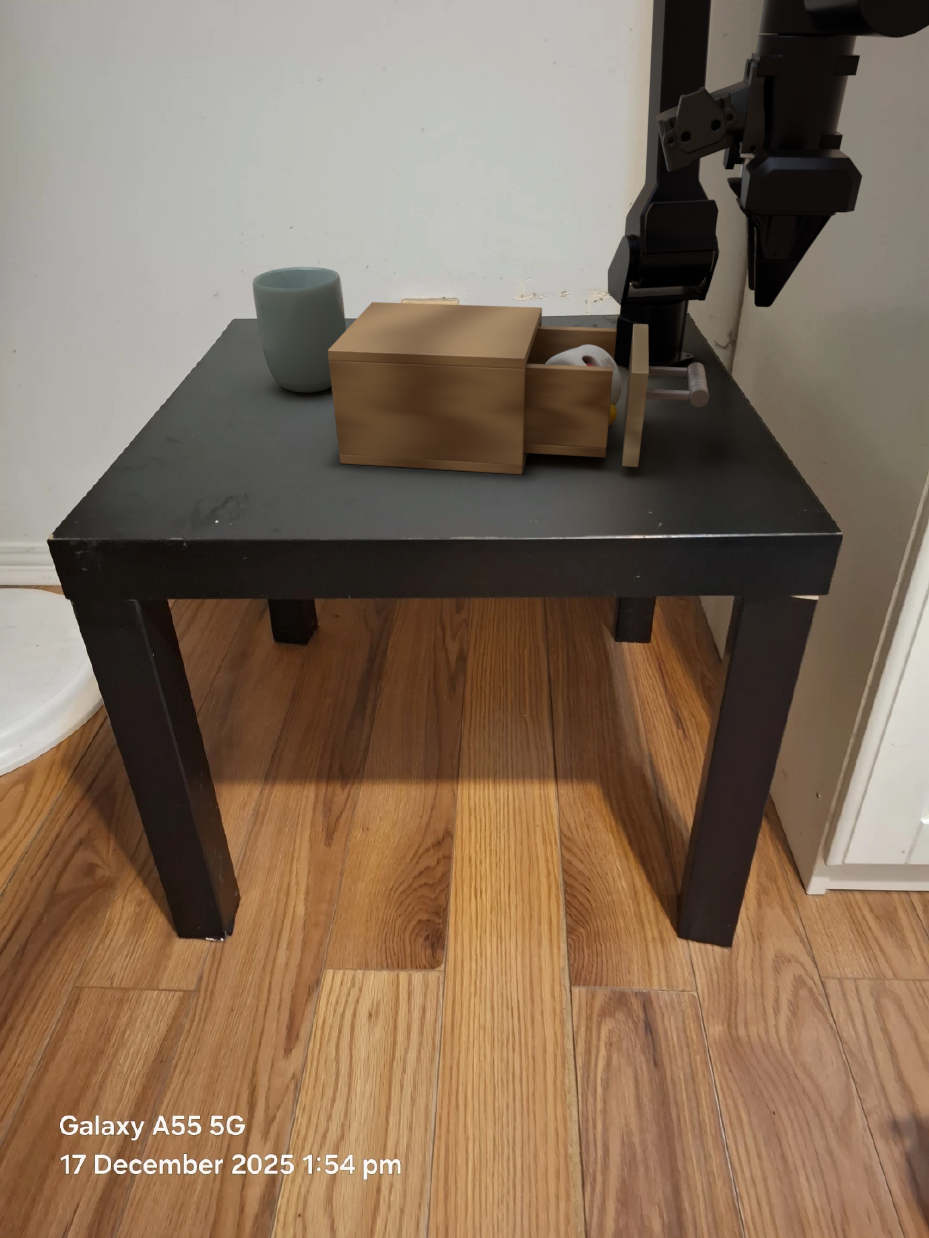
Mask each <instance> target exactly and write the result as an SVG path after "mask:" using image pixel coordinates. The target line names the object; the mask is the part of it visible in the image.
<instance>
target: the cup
mask: <svg viewBox="0 0 929 1238" xmlns="http://www.w3.org/2000/svg"><path fill="white" fill-rule="evenodd" d="M341 279H342V278H341V276H340V273H338V271H336V270H333V269H329V268H326V267H325V268H324V267H318V266H317V267H315V266H293V267H292V266H291V267H282V268H277V269H272V270H268V271H265V272H263V273H260V274H258V275H256V276H255V277H254V278H253V279H252V284H251V286H252V287H251V288H252V295H253V302H254V307H255V308H254V309H255V315H256V320H257V325H258V326H257V327H258V332H259V337H260V342H261V346H262V351H263V356H264V359H265V361H266V365H267V368H268V370H269V373H270V374H271V376H272V378H273V379H274V380H275V382H276V383H277V384H278V385H279V386H281V387H282V388H284V389H285V390H287V391H291V392H296V393H302V394H309V393H310V394H312V393H318V392H322V391H325V390H328V389H329V388H332V385H331V376H330V367H329V357H328V350H329V348H330V347H331V346H332V345H333V344H334V343H335V342H336V341H337V340H338V339H339V338H340V336H341V335H342V334H343V333H344V332H345V331H346V330H347V327H346V326H347V325H346V314H345V303H344V294H343V284H342V280H341Z"/></svg>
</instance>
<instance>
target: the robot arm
mask: <svg viewBox="0 0 929 1238" xmlns="http://www.w3.org/2000/svg"><path fill="white" fill-rule="evenodd" d="M652 1H653V2H652V21H651V22H652V23H651V45H650V66H649V67H650V69H649V89H648V91H649V92H648V110H647V111H648V112H647V133H646V157H645V177H644V185H643V186H642V188H641V189H640V192H639V193H638V195H637V197H636V199H635V200H634V202H633V204H632V205H631V207H630V209H629V211H628V213H626V216H625V225H624V235H623V236H622V237H621V239H620V242H619V243H618V246H617V248H616V250H615V253H614V255H613V257H612V260H611V261H610V264H609V266H608V269H607V293H608V295H609V296H610V297H611V298H612V299H613V300H614V301H615V302H616V303H617V304H618V305H619V315H618V316H617V318H616V327H615V328H616V329H617V332H616V344H615V355H614V361H615V363H619V364H621V365H624V366H627V367H629V364H630V354H631V344H632V333H633V325H634V324H648V349H649V366H655V367H678V366H680V365H683V364H688V363H691V362H693V361H694V355H693V354H691V353H688V352H686V351H683V348H684V341H685V340H684V339H685V333H686V332H685V331H686V325H687V318H688V312H689V311H688V309H689V302H690V301H699V302H702V301H703V302H704V301H706V299H707V295H708V293H709V290H710V287H711V283H712V280H713V276H714V273H715V270H716V267H717V264H718V260H719V258H720V248H719V240H718V236H717V224H718V216H719V207H718V204H717V202H716V200H715V199H710V198H709V197H708V195H707V192H706V190H705V188H704V186H703V184H702V183H701V181H700V170H701V159H702V158H705V157H708V156H710V155H713V154H716V153H718V152H721V151H724V152H723V160H722V166H723V168H724V170H729V171H730V170H731V171H732V170H734V169H735V165H740V171H739V176H733V177H727V178H726V181H727V184H728V186H729V188H730V190H731V191H732V192H733V193H734V195H735V196H736V197H735V200H736V201H735V202H736V203H737V206H738V207H739V210H740V211H741V212H742V213H743V214H744V216H745V228H746V229H745V231H746V233H745V236H746V256H747V257H746V258H747V259H746V260H747V261H746V262H747V287H748V289H749V290H750V291H753V298H754V299H753V302H754V306H755V307H756V308H770V307H771V306H773V304H774V302H775V301H776V300H777V298H778V297H779V295H780V293H781V292H782V290H783V289H784V287H785V286H786V284H787V283H788V281H789V280H790V278H791V276H792V275H793V273H794V272H795V270H796V269H797V267H798V266H799V265H800V262H801V261H802V260H803V258H804V257H805V255H806V254H807V252H808V251H809V249H810V248H811V246H812V245H813V244H814V242H815V241H816V239H817V238H818V237H819V235H820V234H821V232H822V231H823V229H824V228H825V226H826V225H827V224H828V222H829V221H830V220H831V218H832V217H834V216H836V214H837V213H840V214H841V213H843V214H845V213H850V212H855V210H856V205H857V201H858V197H859V196H858V195H859V193H860V192H859V191H860V188H861V184H862V179H863V175H862V173H861V172H860V170H859V169H858V167H857V166H856V164H855V163H854V161H853V160H852V159H851V158H850V156H848V155H847V154H846V153H844V152H843V151H842V150H841V147H842V146H841V145H842V141H843V137H844V134H842V133H841V132H839V131H838V126H839V123H840V122H839V121H840V117H841V112H842V109H843V108H842V107H843V103H844V97H845V94H846V90H847V85H848V80H849V76H851V77H852V76H857V71H858V68H859V63H860V58H861V54H858V53H854V52H855V46H856V42H857V38H858V37H871V38H888V39H889V38H891V39H901V38H904V37H908V36H911V35H915V34H916V33H918V32H921V31H923V30H924V29H925V28H927V27H929V0H763V5H762V11H761V17H760V18H761V19H760V24H759V29H758V37H757V44H756V50H755V52H751V57H750V58H747V59H746V60H745V65H744V71H743V72H744V74H743V77H742V80H741V81H738V82H736V83H733V84H730V85H728V86H724V87H722V88H719V89H716V90H714V91H711V92H709V91H708V90H707V88H706V86H707V85H706V83H707V82H706V81H707V69H708V56H709V55H708V54H709V42H710V41H709V38H710V25H711V9H712V0H652Z"/></svg>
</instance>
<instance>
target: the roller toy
mask: <svg viewBox="0 0 929 1238" xmlns="http://www.w3.org/2000/svg"><path fill="white" fill-rule="evenodd" d="M545 364H547V365H571V366H595V367H613V378H612V389H611V400H610V412H609V423H608V426H610V425H612V424H613V423H614V422H616V420H617V417H618V410H617V407H616V406H617V404H618V403H619V400H620V397H621V393H622V376H621V373H620V370H619V367H618V365H617V362H616V361H614V360H613V358H612V357H611V356H610V355H609V354H608V353H607V352H606V351H605V350H603V349H602V348H600V347H598V346H594V345H582V346H579V347H577V348H574V349H570V350H567V351H565V352H562V353H560V354H557V355H555V356H553V357H552V358H550V359H549V360H548V361H547V362H546V363H545Z"/></svg>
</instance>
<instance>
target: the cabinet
mask: <svg viewBox="0 0 929 1238" xmlns="http://www.w3.org/2000/svg"><path fill="white" fill-rule="evenodd" d="M542 317H543V308H542V307H541V306H540V307H539V306H535V307H534V306H507V305H505V306H504V305H472V304H445V303H444V304H440V303H413V302H412V303H411V302H409V303H408V302H381V301H379V302H377V301H372V302H370V304H369V305H368V306H367V307H366V308H365V309H364V310H363V311H362V312H361V314H360V315H358V316H357V318H356V319H355V320H354V321H353V322H352V323H351V324H350V325H349V326H348V328H346V331H345V332H344V333H343V334H342V335H341V336H340V338H339V339H338V340H337V341H336V342H335V343H334V344H333V345H332V346H331V347H330V348H329V350H328V357H329V367H330V376H331V385H332V386H331V392H332V401H333V409H334V419H335V428H336V435H337V436H336V437H337V445H338V455H339V463H340V464H343V465H344V464H347V465H363V466H379V467H394V468H395V467H397V468H411V469H424V470H425V469H429V470H441V471H443V470H444V471H460V472H474V473H490V474H491V473H492V474H493V473H494V474H507V475H523V472H524V469H525V465H526V461H527V457H528V453H524V417H525V379H526V366H525V365H526V362H527V359H528V356H529V353H530V350H531V347H532V344H533V341H534V338H535V335H536V332H537V329H538V326H543V318H542Z"/></svg>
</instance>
